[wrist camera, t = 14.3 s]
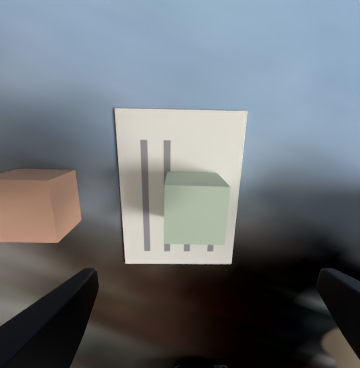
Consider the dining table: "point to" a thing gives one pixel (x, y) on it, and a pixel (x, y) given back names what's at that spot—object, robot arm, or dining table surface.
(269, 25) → the dining table surface
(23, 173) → the terracotta block
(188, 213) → the green cube
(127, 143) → the letter
